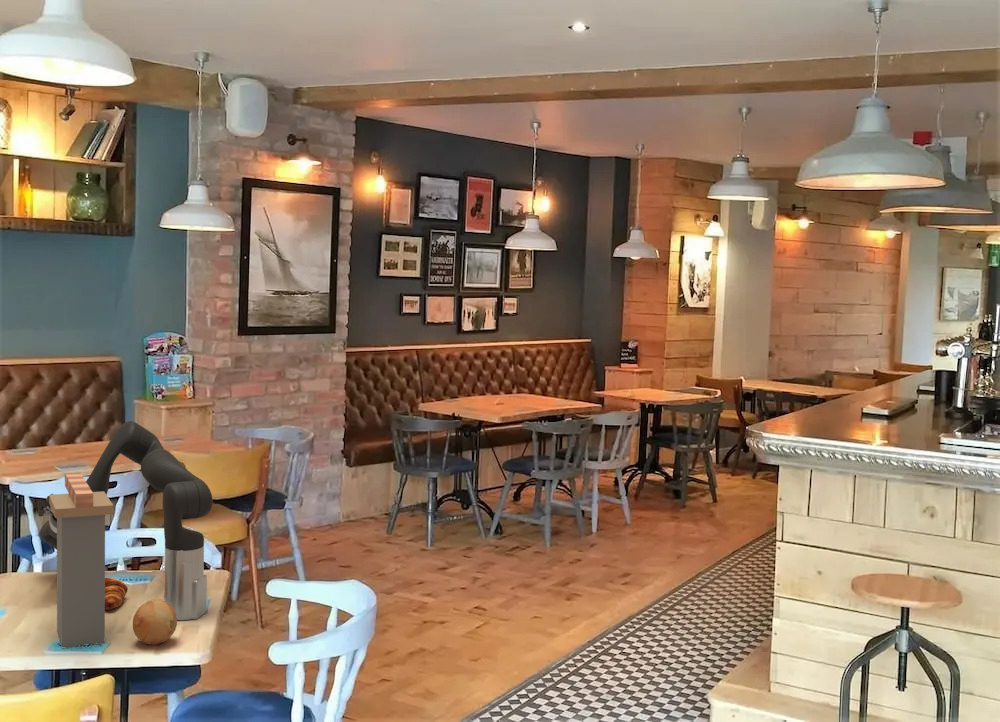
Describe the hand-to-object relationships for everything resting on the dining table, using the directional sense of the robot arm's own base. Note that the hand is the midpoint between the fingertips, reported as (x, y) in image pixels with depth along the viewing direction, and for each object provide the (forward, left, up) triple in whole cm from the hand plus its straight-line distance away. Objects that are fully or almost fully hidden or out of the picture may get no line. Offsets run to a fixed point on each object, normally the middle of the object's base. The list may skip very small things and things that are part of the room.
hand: (71, 496), depth 257 cm
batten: (-10, +14, +4) cm, 17 cm away
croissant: (-5, -8, -29) cm, 30 cm away
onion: (-30, +18, -29) cm, 45 cm away
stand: (-12, +18, -28) cm, 36 cm away
